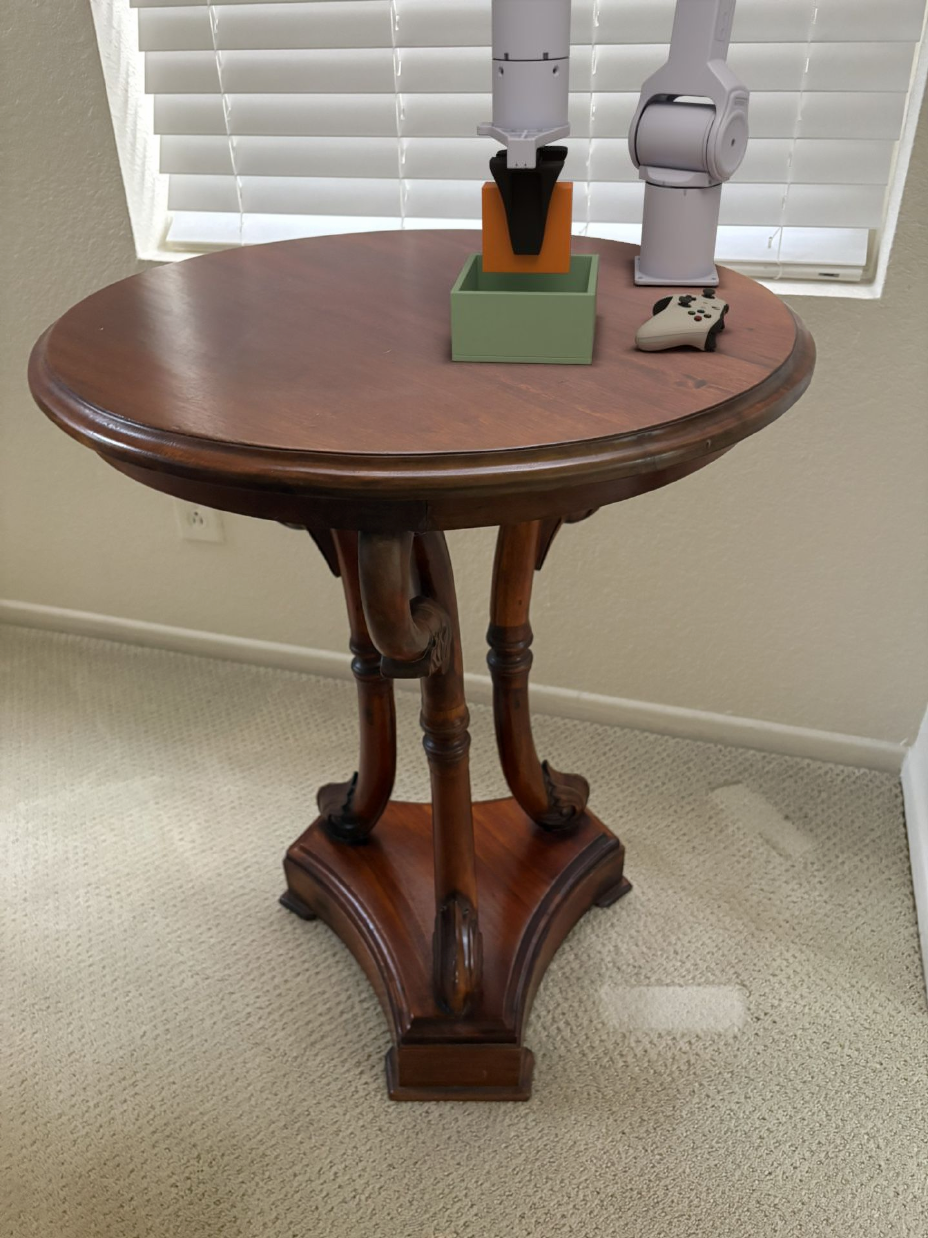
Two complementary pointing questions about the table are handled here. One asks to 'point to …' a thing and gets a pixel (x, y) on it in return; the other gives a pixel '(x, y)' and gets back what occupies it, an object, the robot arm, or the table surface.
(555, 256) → the block
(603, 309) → the table surface
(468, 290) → the bin
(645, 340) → the game controller
